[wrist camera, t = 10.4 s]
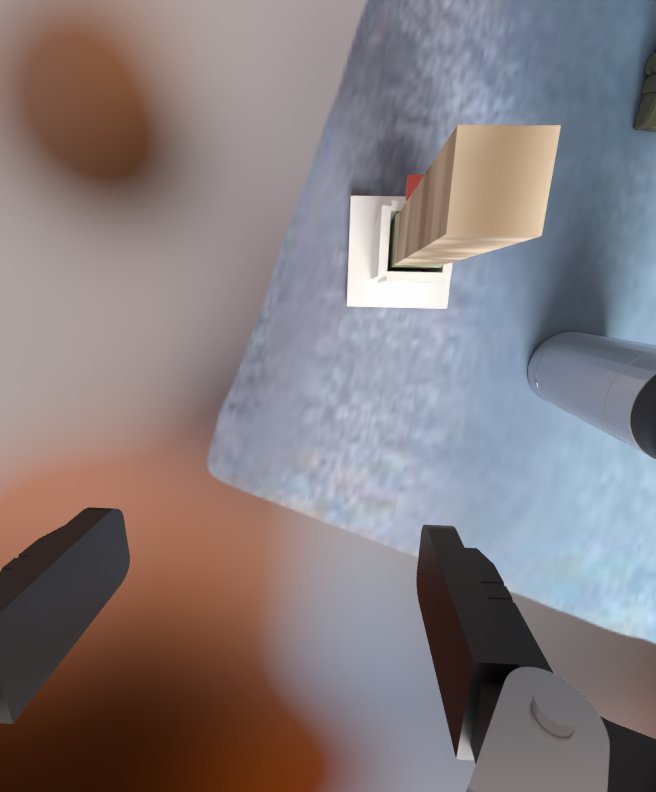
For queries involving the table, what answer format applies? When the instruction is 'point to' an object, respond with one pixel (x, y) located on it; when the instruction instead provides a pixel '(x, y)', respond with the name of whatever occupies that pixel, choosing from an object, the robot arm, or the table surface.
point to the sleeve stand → (371, 259)
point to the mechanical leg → (648, 99)
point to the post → (477, 196)
